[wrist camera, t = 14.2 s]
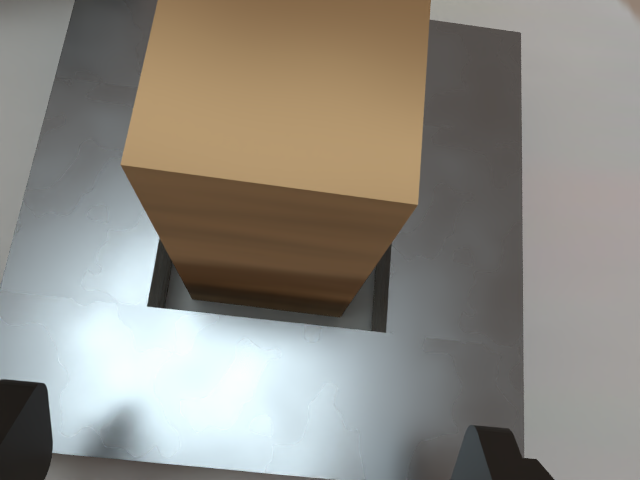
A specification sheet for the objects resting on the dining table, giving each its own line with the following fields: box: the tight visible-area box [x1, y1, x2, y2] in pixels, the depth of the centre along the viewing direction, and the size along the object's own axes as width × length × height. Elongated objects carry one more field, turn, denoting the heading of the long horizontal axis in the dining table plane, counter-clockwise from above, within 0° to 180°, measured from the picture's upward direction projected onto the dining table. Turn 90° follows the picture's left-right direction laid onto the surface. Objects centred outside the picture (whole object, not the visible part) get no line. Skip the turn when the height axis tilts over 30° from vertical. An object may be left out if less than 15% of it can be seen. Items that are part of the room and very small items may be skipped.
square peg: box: [120, 0, 431, 317], centre depth 15 cm, size 5×5×10 cm
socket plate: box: [0, 0, 524, 480], centre depth 18 cm, size 14×14×2 cm
